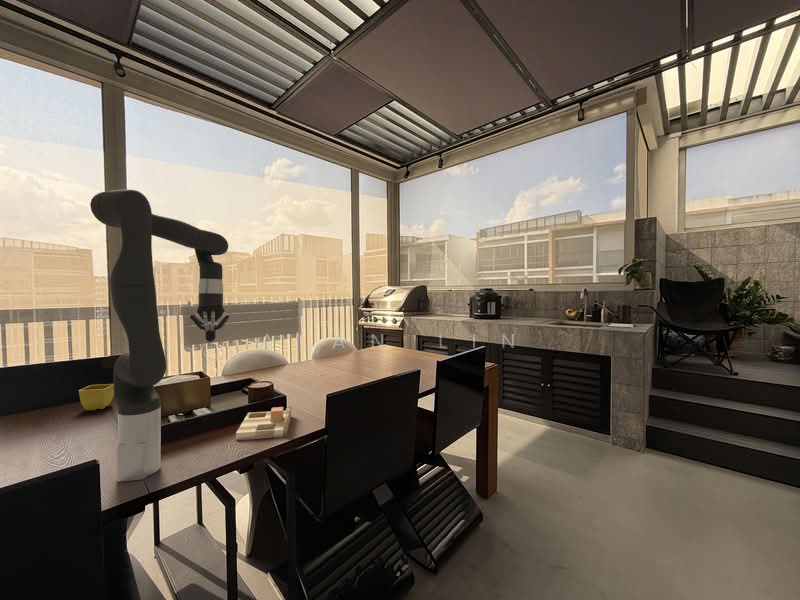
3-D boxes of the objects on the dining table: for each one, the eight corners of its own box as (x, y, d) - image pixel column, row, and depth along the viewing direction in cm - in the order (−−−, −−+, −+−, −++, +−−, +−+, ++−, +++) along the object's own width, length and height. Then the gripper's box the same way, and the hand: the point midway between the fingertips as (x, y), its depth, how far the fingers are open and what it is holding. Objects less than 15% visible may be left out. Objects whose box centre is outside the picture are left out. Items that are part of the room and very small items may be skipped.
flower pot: (90, 405, 141) (90, 384, 141) (115, 404, 144) (115, 383, 144) (78, 413, 133) (78, 390, 132) (104, 411, 135) (104, 389, 135)
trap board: (286, 436, 115) (286, 422, 115) (235, 440, 112) (236, 425, 111) (291, 416, 134) (291, 404, 134) (248, 419, 130) (248, 406, 130)
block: (282, 421, 122) (282, 410, 122) (270, 422, 121) (270, 411, 121) (283, 417, 126) (283, 407, 126) (272, 418, 125) (272, 407, 125)
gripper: (185, 291, 112) (185, 343, 112) (228, 292, 115) (228, 342, 115) (194, 291, 119) (193, 340, 119) (234, 292, 122) (233, 339, 122)
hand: (210, 341), depth 117 cm, fingers closed
